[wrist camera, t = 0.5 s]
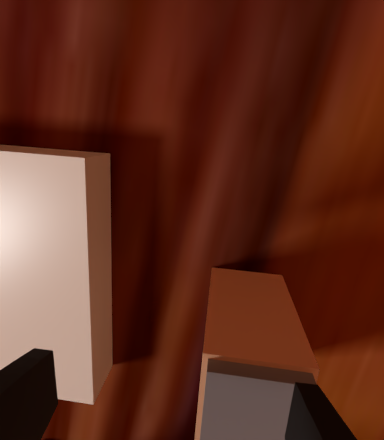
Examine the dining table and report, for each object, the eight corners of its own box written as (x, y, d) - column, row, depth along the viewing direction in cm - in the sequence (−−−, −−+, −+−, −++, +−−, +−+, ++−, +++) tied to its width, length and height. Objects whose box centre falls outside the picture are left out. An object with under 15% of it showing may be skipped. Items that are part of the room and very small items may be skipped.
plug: (267, 361, 18) (293, 508, 11) (203, 352, 19) (189, 490, 12) (282, 274, 17) (325, 383, 9) (212, 267, 17) (201, 365, 10)
